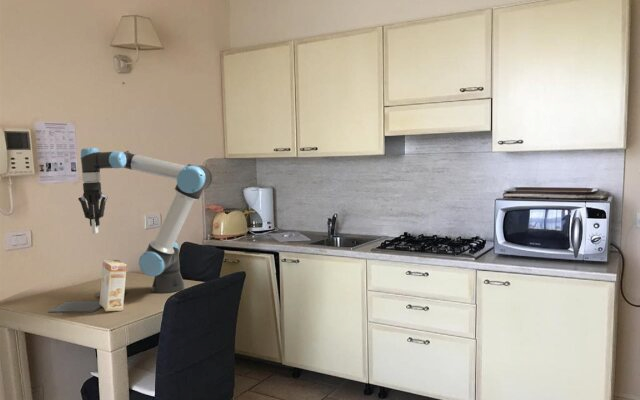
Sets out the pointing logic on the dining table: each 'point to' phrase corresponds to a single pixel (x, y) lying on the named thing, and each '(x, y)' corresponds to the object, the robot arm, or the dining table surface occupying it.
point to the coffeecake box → (113, 285)
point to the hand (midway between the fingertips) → (95, 233)
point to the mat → (77, 307)
